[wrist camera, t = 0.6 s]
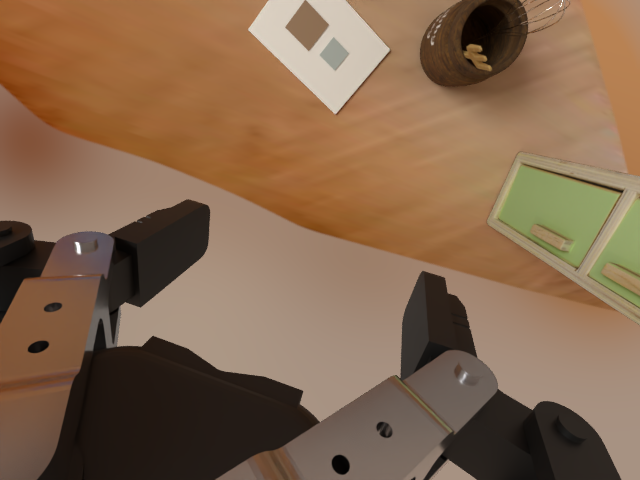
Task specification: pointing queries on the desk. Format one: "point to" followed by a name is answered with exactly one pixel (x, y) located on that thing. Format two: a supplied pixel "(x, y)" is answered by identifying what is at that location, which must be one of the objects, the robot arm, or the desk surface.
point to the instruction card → (321, 45)
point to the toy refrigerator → (576, 224)
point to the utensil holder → (475, 40)
